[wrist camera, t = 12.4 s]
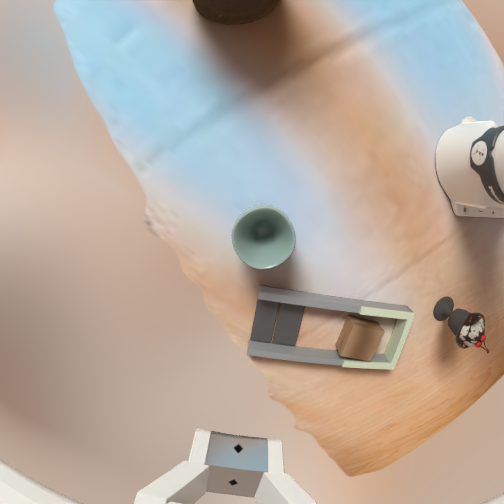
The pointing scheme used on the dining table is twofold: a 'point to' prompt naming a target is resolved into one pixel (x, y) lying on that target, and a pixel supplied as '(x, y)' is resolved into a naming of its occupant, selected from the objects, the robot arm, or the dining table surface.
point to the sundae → (462, 323)
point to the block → (359, 338)
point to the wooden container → (234, 10)
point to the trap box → (291, 322)
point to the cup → (263, 236)
